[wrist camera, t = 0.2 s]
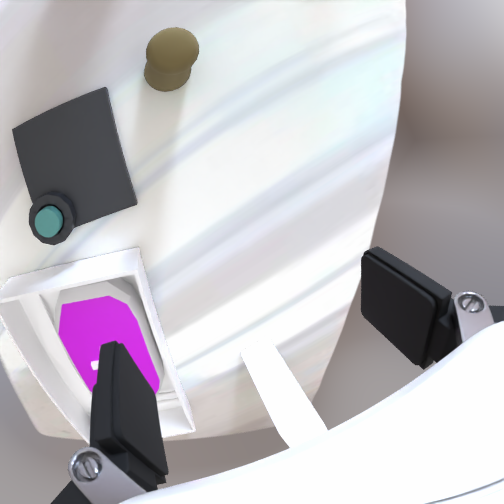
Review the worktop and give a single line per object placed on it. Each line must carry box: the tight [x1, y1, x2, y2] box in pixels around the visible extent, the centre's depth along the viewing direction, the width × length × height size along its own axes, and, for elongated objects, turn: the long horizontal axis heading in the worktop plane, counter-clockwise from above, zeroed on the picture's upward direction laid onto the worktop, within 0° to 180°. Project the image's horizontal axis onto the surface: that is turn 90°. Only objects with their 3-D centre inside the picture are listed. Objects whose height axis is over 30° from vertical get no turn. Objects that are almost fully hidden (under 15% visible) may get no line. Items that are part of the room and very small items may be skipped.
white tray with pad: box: [0, 247, 196, 445], centre depth 40 cm, size 22×35×7 cm, turn 5°
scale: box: [12, 87, 137, 245], centre depth 30 cm, size 17×15×3 cm
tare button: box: [35, 206, 63, 237], centre depth 30 cm, size 4×4×2 cm
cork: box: [144, 27, 199, 92], centre depth 26 cm, size 6×6×11 cm
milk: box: [241, 336, 328, 448], centre depth 44 cm, size 6×6×22 cm
